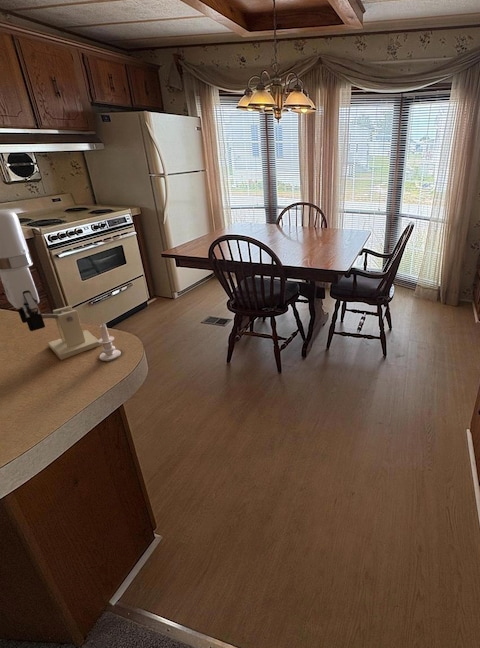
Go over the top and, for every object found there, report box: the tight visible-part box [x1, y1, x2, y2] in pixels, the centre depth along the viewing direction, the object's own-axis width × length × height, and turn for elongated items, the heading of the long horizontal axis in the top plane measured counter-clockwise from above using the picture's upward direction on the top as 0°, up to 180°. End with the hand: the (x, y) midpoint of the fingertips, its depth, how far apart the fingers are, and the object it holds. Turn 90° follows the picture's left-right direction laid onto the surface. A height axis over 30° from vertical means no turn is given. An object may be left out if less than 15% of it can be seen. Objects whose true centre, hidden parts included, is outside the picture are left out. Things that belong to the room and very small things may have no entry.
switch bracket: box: [47, 305, 101, 360], centre depth 99 cm, size 10×10×12 cm
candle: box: [98, 323, 122, 362], centre depth 95 cm, size 5×5×10 cm
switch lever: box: [24, 311, 69, 319], centre depth 94 cm, size 10×6×2 cm, turn 142°
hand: (33, 324), depth 91 cm, fingers closed on switch lever, 6 cm apart
